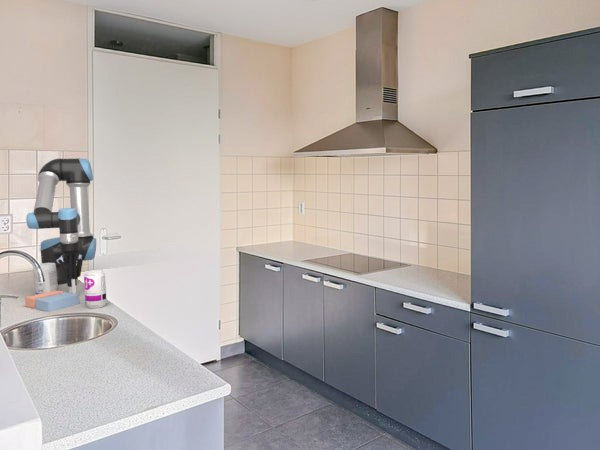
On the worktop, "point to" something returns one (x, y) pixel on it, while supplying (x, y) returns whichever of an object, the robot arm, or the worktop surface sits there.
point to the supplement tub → (46, 279)
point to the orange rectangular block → (31, 300)
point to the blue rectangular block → (57, 301)
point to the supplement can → (95, 289)
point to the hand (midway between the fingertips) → (72, 293)
